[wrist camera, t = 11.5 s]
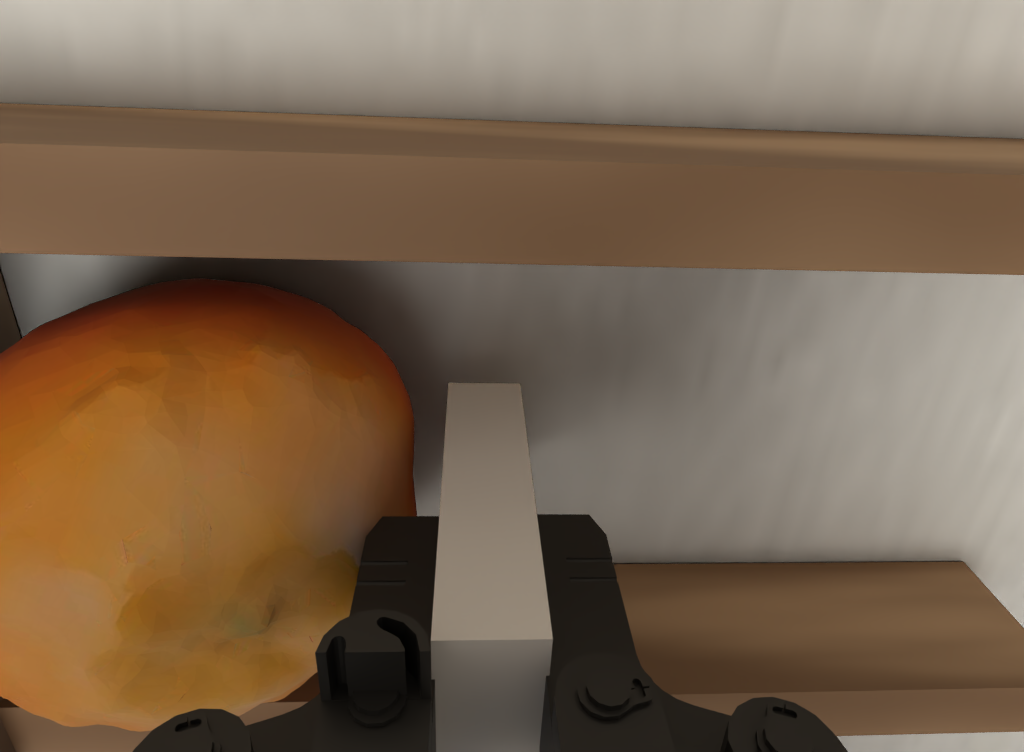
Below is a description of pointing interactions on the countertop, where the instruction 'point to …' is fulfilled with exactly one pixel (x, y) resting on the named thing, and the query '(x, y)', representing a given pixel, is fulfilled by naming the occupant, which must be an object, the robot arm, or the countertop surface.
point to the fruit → (188, 498)
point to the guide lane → (593, 242)
